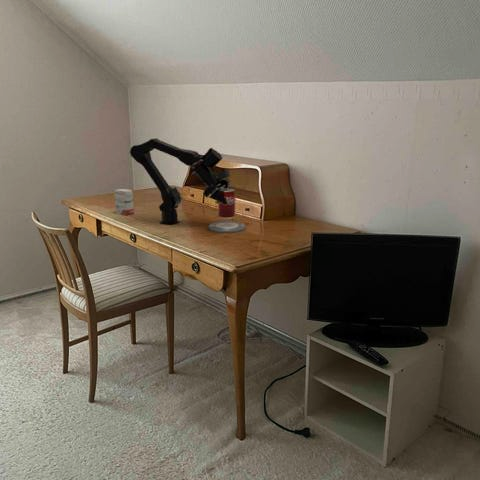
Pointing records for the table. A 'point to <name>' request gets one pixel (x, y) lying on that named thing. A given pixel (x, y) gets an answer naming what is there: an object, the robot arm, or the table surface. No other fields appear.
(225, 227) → the dial plate
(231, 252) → the table surface
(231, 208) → the soda can
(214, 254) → the table surface
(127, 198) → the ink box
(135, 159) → the robot arm
